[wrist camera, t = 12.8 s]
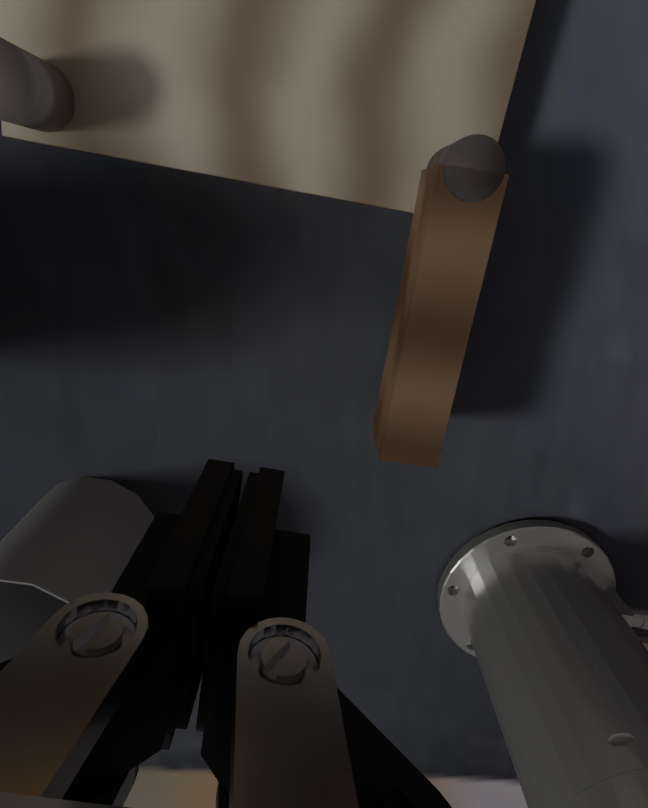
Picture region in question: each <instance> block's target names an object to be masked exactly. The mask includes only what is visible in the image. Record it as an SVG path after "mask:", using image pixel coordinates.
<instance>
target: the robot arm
mask: <svg viewBox="0 0 648 808" xmlns="http://www.w3.org/2000/svg"><path fill="white" fill-rule="evenodd" d="M284 473H285V471H282V470H275V469H269V468H263V467H261V468H260V471H259V473H253V472H250V473H249V476H248V479H247V483H246V486H245V489H244V492H243V496H242V499H241V502H240V505H239V497H240V489H241V482H242V471H240V470H234V463H231V462H225V461H219V460H212V459H209V460H208V462H207V464H206V466H205V468H204V470H203V472H202V474H201V476H200V478H199V480H198V482H197V484H196V486H195V488H194V490H193V492H192V494H191V496H190V498H189V500H188V502H187V504H186V506H185V508H184V510H183V512H182V514H181V515H178V514H171V513H165V512H159V513H157V515H156V516H155V517H154V519H153V521H152V522H151V524H150V526H149V528H148V529H147V531H146V533H145V534H144V536H143V538H142V540H141V541H140V543H139V545H138V546H137V548H136V550H135V552H134V553H133V555H132V557H131V559H130V560H129V562H128V564H127V565H126V567H125V569H124V571H123V572H122V574H121V576H120V577H119V579H118V581H117V583H116V584H115V586H114V588H113V589H112V591H111V593H110V592H108V593H95V594H91V595H87V596H84V597H80V598H78V599H76V600H74V601H72V602H70V603H68V604H66V605H64V606H63V607H62V608H61V609H59V610H58V611H57V612H56V613H55V614H53V616H52V617H51V618H50V619H49V620H48V621H47V622H46V623H45V624H44V625H43V626H42V627H41V628H40V630H39V631H38V632H37V633H36V634H35V635H34V636H33V637H32V638H31V639H30V640H29V641H28V643H27V644H26V645H25V646H24V647H23V648H22V649H21V650H20V651H19V652H18V653H17V654H16V655H15V657H14V658H11V659H9V660H6V661H4V662H2V663H0V808H128V807H123V805H124V802H125V801H126V798H127V797H128V795H129V792H130V791H131V788H132V786H133V784H134V782H135V779H136V776H137V773H138V770H139V764H140V763H142V762H143V761H145V760H146V759H148V758H149V757H151V756H152V755H154V754H155V753H157V752H158V751H160V750H161V749H165V750H169V748H170V745H171V742H172V738H173V735H174V732H175V728H178V729H187V727H188V724H189V720H190V717H191V713H192V709H193V706H194V702H195V699H196V695H197V691H198V688H199V684H200V681H201V677H202V683H201V691H200V700H199V708H198V717H197V725H196V731H201V732H204V734H203V742H202V749H201V756H202V757H203V759H204V760H205V762H206V763H207V765H208V766H209V768H210V769H211V771H212V772H213V774H214V775H215V777H216V778H217V780H218V787H217V794H216V808H452V807H451V806H450V805H449V803H448V802H447V801H446V799H445V798H444V797H443V796H442V794H441V793H440V792H439V791H438V790H437V789H436V788H435V786H434V785H432V784H431V782H430V781H429V780H428V779H427V778H426V777H425V776H424V775H423V774H422V773H421V772H420V771H419V770H418V769H417V768H416V767H415V766H414V765H413V764H412V763H411V762H410V761H409V760H408V759H407V758H406V757H405V756H404V755H403V754H402V753H401V752H400V751H399V750H398V749H397V748H396V747H395V746H394V745H393V744H392V743H391V742H390V741H389V740H388V739H387V738H386V737H385V736H384V735H383V734H382V733H381V732H380V731H379V730H378V729H377V728H376V727H375V726H374V725H373V724H372V723H371V722H370V721H369V720H368V718H367V717H366V716H365V715H364V714H363V713H362V712H361V711H360V710H359V709H358V708H357V707H356V706H355V705H354V704H353V703H352V702H351V701H350V700H349V699H348V698H347V697H346V696H345V695H344V694H343V693H342V692H341V691H340V690H339V689H338V688H337V685H336V680H335V674H334V668H333V663H332V657H331V653H330V650H329V647H328V645H327V642H326V641H325V639H324V638H323V637H322V636H321V634H320V633H319V632H318V631H317V630H315V629H314V628H312V627H311V626H310V625H308V624H306V623H305V620H306V603H307V586H308V569H309V552H310V535H309V534H302V533H296V532H289V531H283V530H276V529H275V528H276V522H277V516H278V509H279V503H280V497H281V491H282V485H283V479H284ZM238 505H239V508H238ZM437 601H438V610H439V613H440V616H441V620H442V624H443V626H444V628H445V629H446V631H447V633H448V635H449V636H450V637H451V639H452V640H453V641H454V642H455V643H456V644H457V645H458V646H459V647H460V648H462V649H463V650H464V651H465V652H467V653H469V654H471V655H473V656H475V657H477V660H478V663H479V666H480V669H481V671H482V674H483V677H484V680H485V683H486V686H487V689H488V692H489V695H490V698H491V701H492V704H493V706H494V709H495V712H496V715H497V718H498V721H499V724H500V727H501V730H502V733H503V736H504V739H505V741H506V744H507V747H508V750H509V753H510V756H511V759H512V762H513V765H514V768H515V771H516V774H517V776H518V779H519V782H520V785H521V788H522V791H523V794H524V797H525V800H526V802H527V805H528V808H648V634H641V633H635V632H634V631H633V630H632V628H631V627H636V628H637V629H644V630H648V609H644V608H630V607H628V606H627V605H626V604H625V603H624V602H623V600H622V599H621V598H620V596H619V595H618V594H617V592H616V579H615V574H614V569H613V567H612V565H611V563H610V561H609V559H608V557H607V556H606V554H605V553H604V552H603V550H602V549H601V548H600V547H599V545H598V544H597V543H596V542H595V541H594V540H592V539H591V538H590V537H589V536H588V535H587V534H585V533H583V532H582V531H580V530H578V529H577V528H575V527H572V526H569V525H566V524H563V523H561V522H555V521H549V520H522V521H517V522H511V523H507V524H504V525H501V526H498V527H495V528H492V529H490V530H488V531H486V532H484V533H482V534H480V535H478V536H476V537H475V538H474V539H472V540H471V541H470V542H468V543H467V544H466V545H464V546H463V547H462V548H461V549H460V550H459V551H458V552H457V553H456V554H455V555H454V556H453V557H452V559H451V560H450V562H449V563H448V565H447V567H446V568H445V570H444V572H443V574H442V577H441V579H440V582H439V586H438V593H437ZM202 673H203V674H202Z"/></svg>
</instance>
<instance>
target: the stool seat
mask: <svg viewBox="0 0 648 808" xmlns="http://www.w3.org/2000/svg"><path fill="white" fill-rule="evenodd" d="M535 2H536V0H0V120H1V123H2V136H6V137H11V138H15V139H20V140H24V141H29V142H35V143H40V144H45V145H51V146H56V147H61V148H67V149H72V150H77V151H83V152H88V153H93V154H99V155H104V156H109V157H115V158H120V159H125V160H131V161H136V162H141V163H146V164H152V165H157V166H162V167H168V168H173V169H178V170H184V171H189V172H194V173H200V174H205V175H210V176H216V177H221V178H226V179H232V180H237V181H242V182H248V183H253V184H258V185H264V186H269V187H274V188H280V189H285V190H290V191H296V192H301V193H306V194H312V195H317V196H322V197H328V198H333V199H338V200H344V201H349V202H354V203H360V204H365V205H370V206H376V207H381V208H386V209H392V210H397V211H402V212H408V213H414V208H415V203H416V198H417V192H418V187H419V182H420V177H421V171H422V170H424V169H426V168H427V165H428V163H429V161H430V159H431V158H432V156H433V155H434V154H435V153H436V152H437V151H439V150H440V149H442V148H444V147H446V146H448V145H450V144H452V143H454V142H456V141H458V140H460V139H462V138H464V137H466V136H469V135H473V134H483V135H487V136H489V137H491V138H493V139H494V140H495V141H497V143H498V140H499V136H500V133H501V129H502V125H503V121H504V118H505V114H506V110H507V106H508V103H509V99H510V95H511V91H512V88H513V84H514V80H515V76H516V73H517V69H518V65H519V62H520V58H521V54H522V50H523V47H524V43H525V39H526V35H527V32H528V28H529V24H530V20H531V17H532V13H533V9H534V5H535Z"/></svg>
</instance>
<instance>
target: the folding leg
mask: <svg viewBox="0 0 648 808" xmlns="http://www.w3.org/2000/svg"><path fill="white" fill-rule="evenodd" d="M505 169H506V160H505V155H504V152H503V150H502V148H501V146H500V145H499V144H498V143H497V141H495V140H494V139H493V138H491V137H489V136H487V135H483V134H473V135H469V136H466V137H464V138H462V139H460V140H458V141H456V142H454V143H452V144H450V145H448V146H446V147H444V148H442V149H440V150H439V151H437V152H436V153H435V154H434V155H433V156H432V158H431V159H430V161H429V163H428V165H427V168H426V169H424V170H422V171H421V177H420V182H419V187H418V192H417V198H416V203H415V208H414V213H413V219H412V224H411V229H410V235H409V240H408V245H407V250H406V256H405V261H404V266H403V271H402V277H401V282H400V287H399V293H398V298H397V303H396V308H395V314H394V319H393V324H392V329H391V335H390V340H389V345H388V351H387V356H386V361H385V366H384V372H383V377H382V382H381V387H380V393H379V398H378V403H377V409H376V414H375V419H374V424H373V433H374V437H375V442H376V446H377V450H378V455H379V459H380V461H387V462H395V463H404V464H412V465H420V466H428V467H436V468H437V464H438V460H439V456H440V452H441V448H442V444H443V440H444V436H445V432H446V428H447V424H448V420H449V416H450V412H451V408H452V404H453V400H454V396H455V392H456V388H457V384H458V380H459V376H460V371H461V367H462V363H463V359H464V355H465V351H466V347H467V343H468V339H469V335H470V331H471V327H472V323H473V319H474V315H475V311H476V307H477V303H478V299H479V295H480V291H481V287H482V283H483V279H484V275H485V271H486V267H487V262H488V258H489V254H490V250H491V246H492V242H493V238H494V234H495V230H496V226H497V222H498V218H499V214H500V210H501V206H502V202H503V198H504V194H505V190H506V186H507V182H508V178H509V174H505Z"/></svg>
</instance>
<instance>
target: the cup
mask: <svg viewBox="0 0 648 808" xmlns="http://www.w3.org/2000/svg"><path fill="white" fill-rule="evenodd" d="M153 519H154V516H153V514H152V513H151V511H150V510H149V509H148V508H147V506H146V505H145V504H144V503H143V501H142V500H141V499H140V498H139V496H138V495H137V494H135V493H134V492H132V491H130V490H128V489H126V488H125V487H123V486H121V485H119V484H117V483H116V482H114V481H112V480H105V479H98V478H91V477H80V478H76V479H72V480H69V481H65V482H61V483H58V484H57V485H56V486H55V487H54V488H53V489H52V490H51V491H50V492H49V493H47V494H46V495H45V496H44V497H43V498H42V499H41V500H40V501H39V502H38V503H37V504H36V505H35V506H34V507H33V508H32V509H31V511H30V512H29V513H28V514H27V515H26V516H25V517H24V518H23V519H22V520H21V521H20V522H19V523H18V524H17V525H16V526H15V527H14V528H13V529H12V530H11V531H10V532H9V533H8V534H7V535H6V536H5V537H4V538H3V540H2V541H1V542H0V663H2V662H4V661H6V660H9V659H11V658H14V657H15V655H16V654H17V653H18V652H19V651H20V650H21V649H22V648H23V647H24V646H25V645H26V644H27V643H28V641H29V640H30V639H31V638H32V637H33V636H34V635H35V634H36V633H37V632H38V631H39V630H40V628H41V627H42V626H43V625H44V624H45V623H46V622H47V621H48V620H49V619H50V618H51V617H52V616H53V614H55V613H56V612H57V611H58V610H59V609H61V608H62V607H63V606H64V605H66V604H68V603H70V602H72V601H74V600H76V599H78V598H80V597H84V596H87V595H91V594H95V593H108V592H110V593H111V591H112V589H113V588H114V586H115V584H116V583H117V581H118V579H119V577H120V576H121V574H122V572H123V571H124V569H125V567H126V565H127V564H128V562H129V560H130V559H131V557H132V555H133V553H134V552H135V550H136V548H137V546H138V545H139V543H140V541H141V540H142V538H143V536H144V534H145V533H146V531H147V529H148V528H149V526H150V524H151V522H152V521H153Z"/></svg>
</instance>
